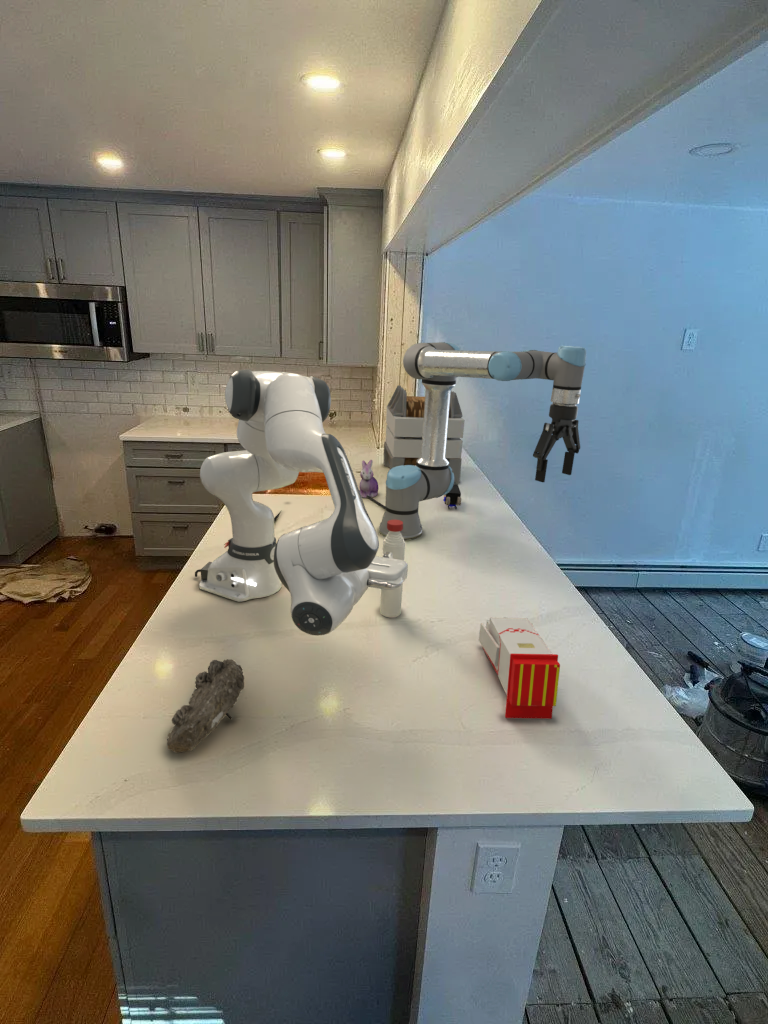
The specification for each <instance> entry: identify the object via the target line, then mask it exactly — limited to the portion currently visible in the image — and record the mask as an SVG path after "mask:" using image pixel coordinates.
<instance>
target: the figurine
mask: <svg viewBox="0 0 768 1024" xmlns="http://www.w3.org/2000/svg"><path fill="white" fill-rule="evenodd" d="M373 463H374V461H373V459H370V460H369V461H368V462H366V461H365V460H362V461H361V471H360V473H359V475H360V478H361V480H360V482H359V490H360V495H361V497H362V498H365V499H368V498H367V497H366V496H367V495H368V496H370V497H371V498H374V497H376V496H378V494H379V489H380V488H379V487H380V486H379V482H378V480H377V479H376V478H375V477H374V472H373V468H372V466H373Z"/></svg>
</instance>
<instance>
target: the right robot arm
mask: <svg viewBox="0 0 768 1024" xmlns="http://www.w3.org/2000/svg"><path fill="white" fill-rule="evenodd" d="M586 361H587V350H586V348H585V347H583V346H576V345H575V346H573V345H560V346H558V349H557V351H556V352H553V351H552V352H551V351H544V350H537V349H526V350H525V349H524V350H523V351H502V350H501V351H496V350H461V349H460V347H459V346H458V345H457V344H455V343H451V342H445V341H444V342H442V341H441V342H440V341H439V342H438V341H437V342H417V343H415V344H412V345H411V346H409V347H408V348H407V350H406V351H405V353H404V355H403V359H402V364H403V369H404V371H405V372H406V374H407V375H408V376H410V377H411V378H412V379H416V380H421V385H422V386H423V387H424V388H425V393H424V397H425V406H424V420H423V435H422V450H421V457H420V458H418V459H417V461H416V466H413V465H401V466H396V467H394V468H392V469H390V468H389V470H388V472H387V474H386V479H385V504H383V503H381V502H380V501H378V500H377V499H375V498H374V497H370V496H368V495H367V496H366V497H367V498H366V499H368V500H370V501H371V502H373V503H375V504H376V505H378V506H379V507H381V508H383V509H384V513H383V515H382V519H381V522H379V526H378V533H379V534H380V535H381V536H382V537H384V538H385V537H386V536H387V534H388V532H389V530H388V529H387V522H388V521H389V520H400V521H402V522H403V530H402V531H400V533H401V535H402V537H403V539H404V541H410V540H415V539H418V538H420V537H421V536H422V535H423V525H422V524H421V518H420V515H419V507H420V506H419V505H420V502H423V501H427V500H431V499H437V498H440V497H444V495H445V494H447V493H448V492H449V491H450V490H451V489H452V487H453V484H455V483H454V473H452V469H451V467H450V466H449V462H448V461H447V459H446V458H445V454H446V442H447V430H448V418H449V406H450V394H451V391H452V389H453V388H455V386H456V385H457V378H473V379H486V380H487V379H489V380H496V381H499V382H510V381H518V380H533V379H536V380H537V379H538V380H547V381H548V380H549V381H552V390H551V396H550V402H551V404H550V405H549V412H548V417H550V418H551V423H549V422H544V423H543V428H542V431H541V434H540V437H539V439H538V441H537V444H536V446H535V449H534V450H533V453H532V457H533V458H536V459H537V461H536V467H535V469H536V470H535V478H534V481H536V482H540V483H545V482H546V476H547V468H548V463H549V461H548V460H549V459H547V458H548V456H549V454H550V453H551V451H552V449H553V448H554V446H555V444H556V443H557V441H559V440H560V439H562V440H563V443H564V446H565V448H566V451H565V452H564V456H563V463H562V468H561V469H562V470H561V474H564V475H567V476H571V475H572V472H573V466H574V461H575V460H574V459H575V454H579V452H580V450H581V441H580V433H579V432H580V431H579V422H580V421H579V419H577V418H578V412H579V407H578V405H579V404H580V397H581V393H582V392H581V391H582V385H583V379H584V373H585V369H586V365H587V364H586ZM359 492H360V489H359Z"/></svg>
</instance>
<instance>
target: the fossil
mask: <svg viewBox="0 0 768 1024" xmlns="http://www.w3.org/2000/svg"><path fill="white" fill-rule="evenodd" d="M243 670H244V669H243V667H242V665H240V664H237V662H236V661H235V660H234V659H232V658H231V659H227V658H226V659H224V660H223V661H222V660H217V659H212V660H211V661H210V663H209V665H208V666H207V671H201V672H199V673H198V674H197V675H196V676H195V680H194V684H195V685H194V687H195V689H194V690H193V693H192V694H191V697H190V698H189V700H188V704H184V705H182V706H181V707H180V709H177V710H176V711H175V713H174V715H173V716H172V718H171V723H172V724H173V727H172V730H171V731H170V732H168V734H167V738H166V741H167V742H166V745H167V749H168V750H169V751H173V752H174V753H176V754H178V753H182V752H188V751H189V752H192V751H193V750H195V748H196V747H197V746H199V744H200V743H201V742H203V741H204V740H205V739H206V738H207V737H208V736H209V735H210V734H211V733H212V732H214V730H215V729H217V727H218V726H219V724H220V722H221V721H222V720H223V719H224V718H225V716H226V717H227V719H229V720H233V717H232V715H230V714H229V710H230V709H231V708H234V706H235V704H236V703H237V702H238V699H239V697H240V695H241V693H242V691H243V690H245V689H244V688H245V675H244V671H243Z"/></svg>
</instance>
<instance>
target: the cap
mask: <svg viewBox="0 0 768 1024" xmlns="http://www.w3.org/2000/svg"><path fill="white" fill-rule="evenodd" d="M387 529H388V530H389V531H393V532H399V531H402V530H403V522H402V521H400V520H389V521H388V522H387Z"/></svg>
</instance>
